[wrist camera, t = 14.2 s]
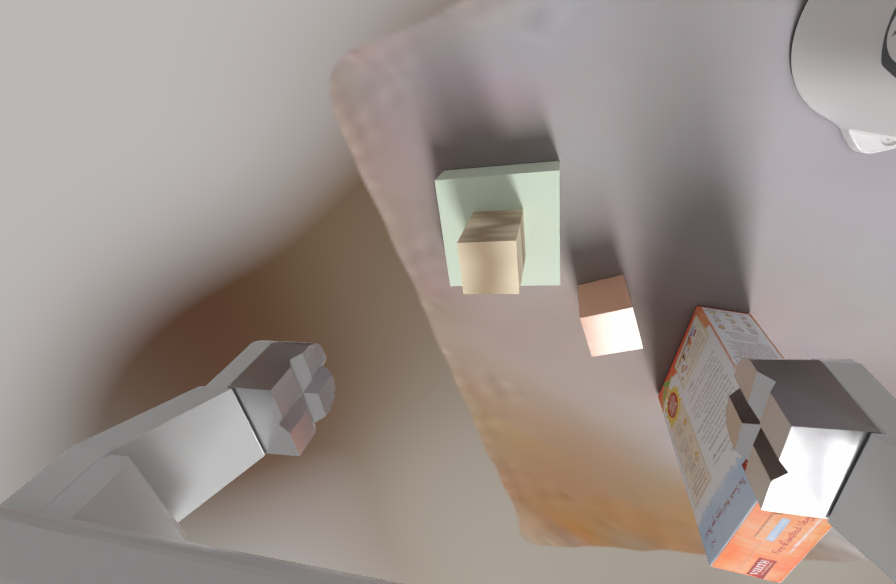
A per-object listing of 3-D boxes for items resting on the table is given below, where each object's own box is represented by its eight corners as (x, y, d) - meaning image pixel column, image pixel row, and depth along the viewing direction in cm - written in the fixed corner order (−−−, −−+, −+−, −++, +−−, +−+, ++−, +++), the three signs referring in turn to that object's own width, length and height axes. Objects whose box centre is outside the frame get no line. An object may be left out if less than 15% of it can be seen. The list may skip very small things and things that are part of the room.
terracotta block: (623, 274, 46) (632, 307, 40) (632, 311, 47) (643, 348, 42) (577, 285, 47) (580, 318, 42) (588, 320, 49) (592, 356, 43)
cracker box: (706, 405, 51) (782, 589, 34) (655, 395, 52) (703, 568, 35) (756, 312, 44) (886, 484, 27) (696, 302, 45) (782, 462, 28)
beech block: (523, 209, 40) (516, 240, 34) (525, 255, 43) (519, 293, 36) (473, 212, 42) (456, 242, 35) (478, 256, 44) (463, 293, 37)
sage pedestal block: (559, 160, 41) (559, 170, 38) (560, 268, 47) (560, 285, 43) (444, 170, 44) (434, 180, 41) (457, 270, 50) (450, 286, 47)
